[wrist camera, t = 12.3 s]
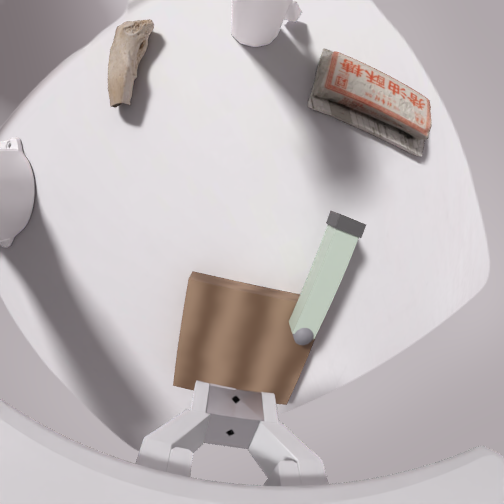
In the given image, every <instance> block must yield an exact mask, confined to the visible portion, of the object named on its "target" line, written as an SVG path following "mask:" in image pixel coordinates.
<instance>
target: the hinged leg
mask: <svg viewBox="0 0 504 504" xmlns="http://www.w3.org/2000/svg"><path fill="white" fill-rule="evenodd" d="M326 223H327V224H328V226H327V229H326V231H325V234H324V237H323V239H322V242H321V244H320V247H319V250H318V252H317V255H316V257H315V260H314V262H313V265H312V267H311V270H310V272H309V275H308V277H307V280H306V282H305V285H304V287H303V289H302V292H301V294H300V297H299V299H298V301H297V304H296V306H295V308H294V311H293V313H292V315H291V317H290V320H289V325H290V328H291V331H292V334H293V337H294V340H295V342H296V343H297V344H298V345H306V344H309V343H310V342H311V341H312V339H315V337H316V335H317V333H318V330H319V328H320V326H321V324H322V322H323V320H324V318H325V316H326V314H327V312H328V309H329V307H330V305H331V303H332V301H333V298H334V296H335V294H336V292H337V289H338V287H339V285H340V283H341V280H342V278H343V276H344V273H345V271H346V268H347V266H348V264H349V261H350V259H351V256H352V254H353V251H354V249H355V246H356V244H357V241H358V238H359V237H360V238H361V237H362V234H363V232H364V229H365V226H366V225H365V224H363V223H361V222H358V221H356V220H353V219H351V218H349V217H346V216H344V215H341V214H338V213H336V212H333V211H330V214H329V217H328V220H327V222H326Z"/></svg>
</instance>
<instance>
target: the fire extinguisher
mask: <svg viewBox="0 0 504 504" xmlns="http://www.w3.org/2000/svg"><path fill="white" fill-rule="evenodd" d="M301 13H302V11H301V9H300V7H299V5H298V4H297V2H296V1H293V0H232V18H231V35H232V36H233V37H234V38H235V39H236V40H237V41H238V42H239V43H240V44H244V45H248V46H252V47H259V46H263V45H268V44H270V43H271V42H272V41H273V40H274V39H275V38H276V37H277V36H278V33H279V31H280V28H281V25H282V23H283V20H288V21H292V22H295V23H296V22H297V20H298V18H299V17H300V15H301Z"/></svg>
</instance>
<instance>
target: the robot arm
mask: <svg viewBox="0 0 504 504" xmlns="http://www.w3.org/2000/svg"><path fill="white" fill-rule="evenodd" d="M34 195H35V186H34V177H33V172H32V169H31V166H30V163H29V161H28V160H27V158H26V157H25V155H24V153H23V150H22V145H21V141H20V138H18V137H16V138H11V139H8V140H5V141H2V142H0V245H1V246H3V247H5V248H6V247H9V246H10V245H11V244H12V242H13V239H14V237H15V236H16V235H17V234H18V233H20V232H21V231H22V230H23V229H24V228H25V226H26V225H27V223H28V221H29V219H30V216H31V213H32V209H33V204H34ZM203 443H208V444H215V445H223V446H230V447H237V448H244V449H248V451H249V452H250V454H251V455H252V457H253V458H254V459H255V461H256V462H257V464H258V465H259V466H260V468H261V469H262V471H263V472H264V473H265V475H266V476H267V477H268V479H267V481H266V482H265V483H264V485H263V486H261V485H245V484H234V483H224V482H217V481H209V480H203V479H197V478H192V477H190V475H191V467H192V459H193V458H192V457H193V453H194V452H195V451H196V450H197V449H198V448H199V447H200V446H201V445H202V444H203ZM0 504H504V457H503V456H502V455H501V454H499V453H498V452H496V451H494V450H492V449H490V448H488V447H485V446H478V447H475V448H473V449H470V450H468V451H466V452H463V453H461V454H458V455H455V456H453V457H450V458H447V459H444V460H442V461H439V462H436V463H433V464H429V465H426V466H423V467H419V468H416V469H412V470H408V471H404V472H400V473H396V474H392V475H387V476H382V477H377V478H372V479H366V480H359V481H352V482H344V483H335V484H329V483H328V480H327V476H326V472H325V469H324V465H323V461H322V459H321V458H319V457H318V456H317V455H316V454H315V453H314V452H313V451H312V450H311V449H310V448H308V447H307V446H306V445H305V444H304V443H303V442H302V441H301V440H300V439H299V438H298V437H297V436H296V435H295V434H294V433H292V432H291V431H290V430H289V429H288V428H287V427H286V426H285V425H284V424H283V423H279V418H278V412H277V406H276V399H275V395H274V393H266V392H256V391H249V390H242V389H236V388H230V387H225V386H220V385H216V384H211V383H210V385H209V383H205V382H201V381H196V383H195V388H194V393H193V398H192V403H191V409H190V410H189V409H186V410H184V411H183V412H181V413H180V414H179V415H177V416H176V417H174V418H173V419H171V420H170V421H168V422H167V423H165V424H164V425H162V426H161V427H159V428H158V429H156V430H155V431H153V432H152V433H150V434H149V435H147V436H145V437H144V439H143V442H142V445H141V448H140V451H139V455H138V458H137V461H136V464H134V463H131V462H128V461H125V460H122V459H119V458H116V457H114V456H111V455H108V454H105V453H103V452H100V451H98V450H95V449H93V448H90V447H88V446H86V445H83V444H81V443H79V442H76V441H74V440H72V439H70V438H68V437H66V436H64V435H62V434H60V433H57V432H56V431H54V430H52V429H50V428H48V427H46V426H44V425H43V424H41V423H39V422H37V421H36V420H34V419H32V418H30V417H29V416H27V415H25V414H24V413H22V412H21V411H19V410H17V409H16V408H14V407H13V406H11V405H10V404H8V403H7V402H5V401H4V400H2V399H1V398H0Z"/></svg>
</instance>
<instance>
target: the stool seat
mask: <svg viewBox="0 0 504 504" xmlns="http://www.w3.org/2000/svg"><path fill="white" fill-rule="evenodd" d="M299 297H300V294H295V293H290V292H285V291H280V290H275V289H270V288H266V287H261V286H256V285H252V284H247V283H242V282H238V281H233V280H229V279H224V278H220V277H215V276H211V275H206V274H202V273H198V272H192V274H191V276H190V277H189V280H188V286H187V292H186V298H185V304H184V310H183V316H182V323H181V329H180V336H179V343H178V350H177V358H176V366H175V374H174V382H173V386H177V387H181V388H185V389H190V390H194V388H195V383H196V381H201V382H205V383H209V385H210V383H211V384H216V385H220V386H225V387H230V388H236V389H242V390H249V391H256V392H266V393H274V395H275V399H276V404H285V405H287V403H288V401H289V398H290V396H291V394H292V392H293V390H294V387H295V385H296V383H297V381H298V378H299V376H300V374H301V371H302V369H303V367H304V364H305V362H306V360H307V357H308V355H309V352H310V350H311V347H312V345H313V342H314V340H315V339H312V341H311V342H310V343H309V344H306V345H298V344H297V343H296V342H295V340H294V337H293V334H292V331H291V328H290V325H289V320H290V317H291V315H292V313H293V311H294V308H295V306H296V304H297V301H298V299H299Z"/></svg>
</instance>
